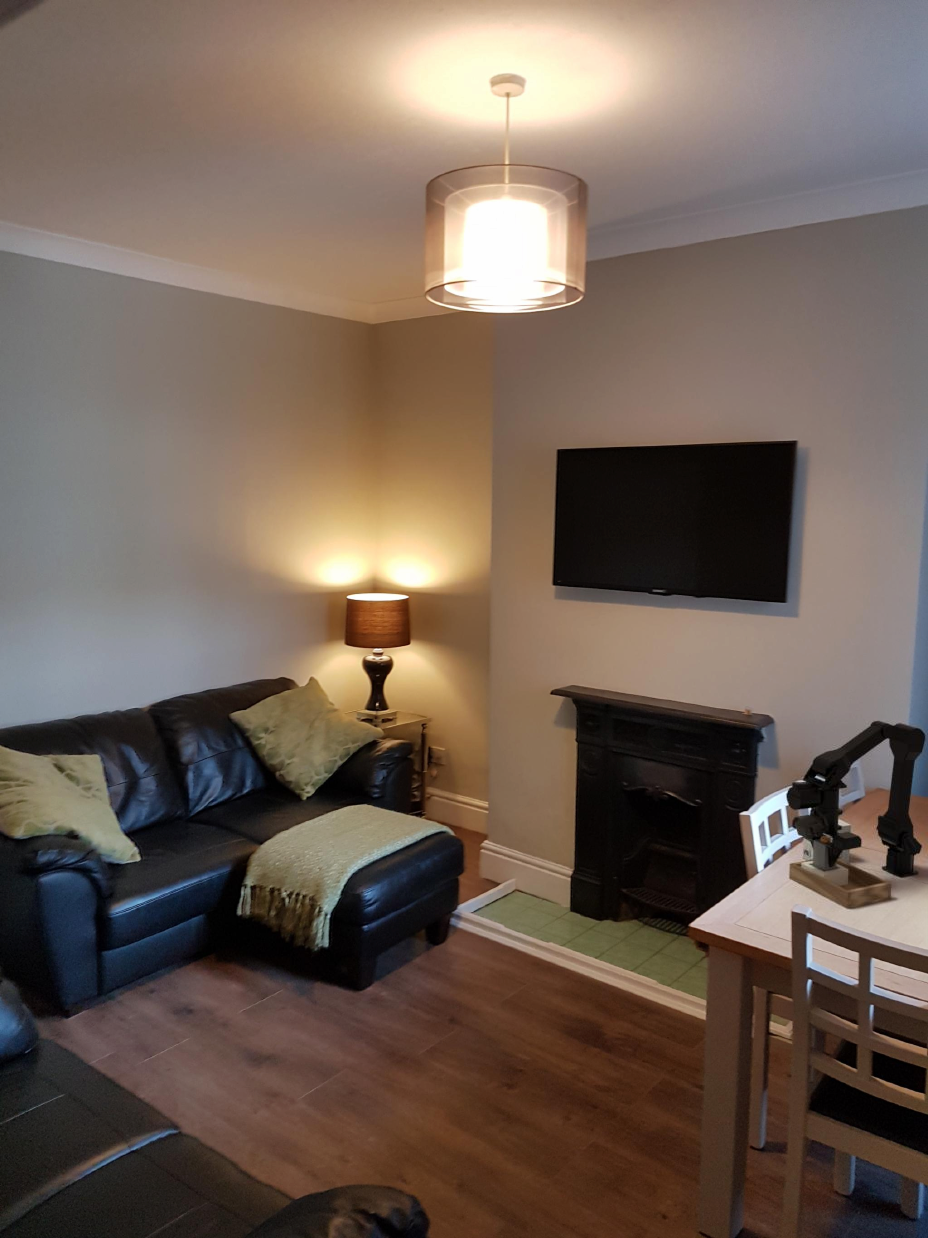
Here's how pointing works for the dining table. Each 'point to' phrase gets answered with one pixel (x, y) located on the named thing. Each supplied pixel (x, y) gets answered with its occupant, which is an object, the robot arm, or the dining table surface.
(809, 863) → the inlet socket
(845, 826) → the light bulb box
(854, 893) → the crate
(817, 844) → the block
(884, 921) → the dining table surface
